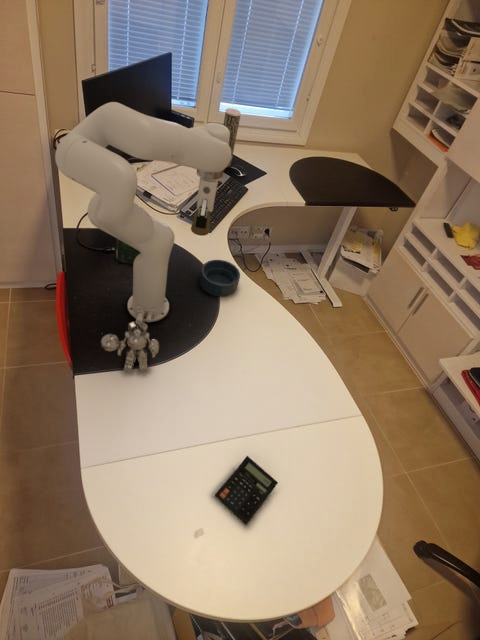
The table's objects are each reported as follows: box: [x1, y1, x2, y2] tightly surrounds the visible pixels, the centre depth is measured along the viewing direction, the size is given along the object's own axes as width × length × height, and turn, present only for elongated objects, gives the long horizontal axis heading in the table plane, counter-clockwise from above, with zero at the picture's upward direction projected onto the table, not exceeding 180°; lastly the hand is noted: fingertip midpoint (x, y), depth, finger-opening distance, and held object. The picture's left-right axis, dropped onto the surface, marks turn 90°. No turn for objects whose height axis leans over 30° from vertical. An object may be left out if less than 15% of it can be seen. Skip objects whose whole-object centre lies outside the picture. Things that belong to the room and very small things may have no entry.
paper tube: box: [222, 107, 242, 169], centre depth 191 cm, size 7×7×25 cm
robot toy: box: [100, 321, 160, 373], centre depth 107 cm, size 15×6×15 cm, turn 96°
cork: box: [190, 201, 211, 237], centre depth 130 cm, size 6×6×11 cm
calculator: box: [214, 455, 279, 526], centre depth 95 cm, size 9×12×3 cm
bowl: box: [199, 259, 241, 297], centre depth 139 cm, size 13×13×6 cm
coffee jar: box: [115, 238, 140, 265], centre depth 135 cm, size 10×8×19 cm
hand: (201, 222), depth 131 cm, fingers closed on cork, 4 cm apart
